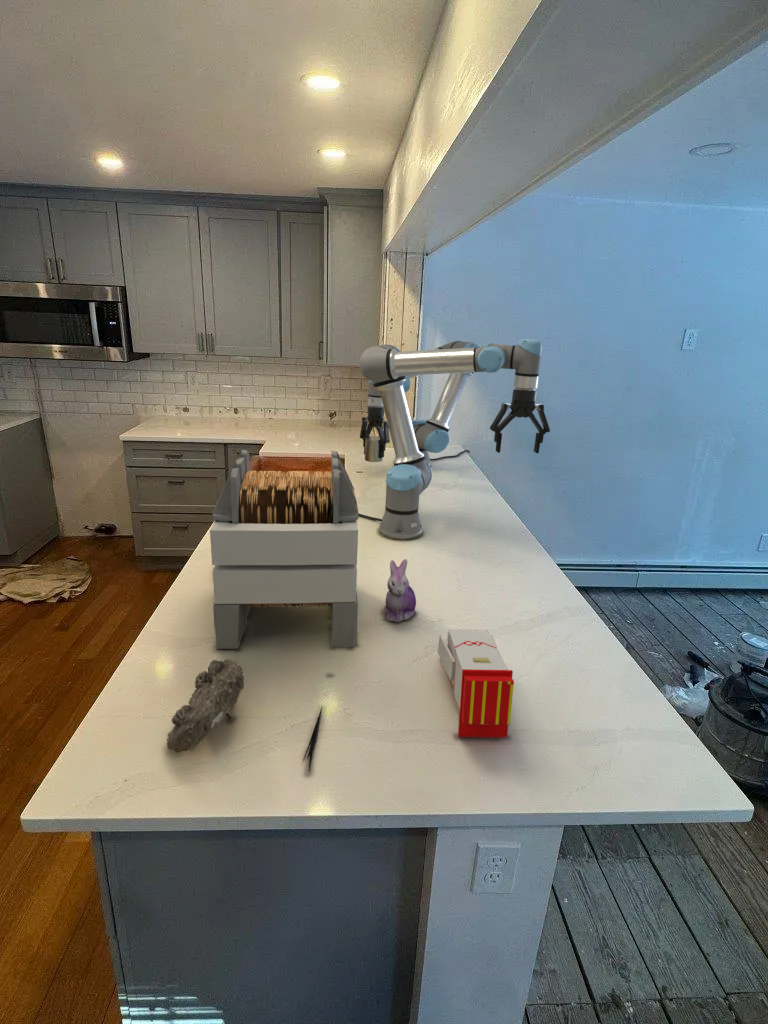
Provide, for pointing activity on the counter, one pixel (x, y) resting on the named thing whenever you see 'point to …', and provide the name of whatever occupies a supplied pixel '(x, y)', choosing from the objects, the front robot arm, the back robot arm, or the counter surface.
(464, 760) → the counter surface
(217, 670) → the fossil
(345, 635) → the record crate
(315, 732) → the feather
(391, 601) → the figurine
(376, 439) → the canister
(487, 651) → the toy
